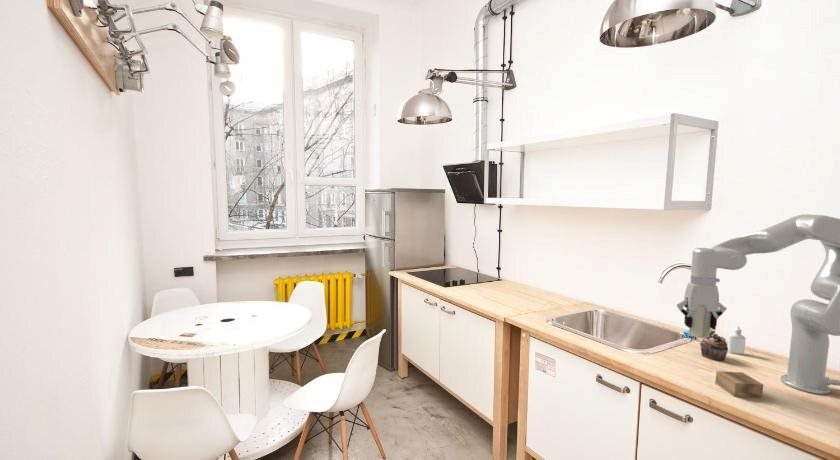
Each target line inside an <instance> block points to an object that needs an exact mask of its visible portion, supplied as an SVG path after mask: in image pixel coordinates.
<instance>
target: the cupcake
mask: <svg viewBox="0 0 840 460" xmlns="http://www.w3.org/2000/svg"><path fill="white" fill-rule="evenodd" d="M699 346H700V351H701V352H700V354H701V356H702V357H703V358H705V359H708V360H712V361H716V362H723V361H725V359H726V357H727V354H728V353H729V351H728V342H726V338H725V337H724V336H720V335H718V334H717V333H714V334H711V333H710V336H707V337H704V338H702V341H701V342H699Z"/></svg>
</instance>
